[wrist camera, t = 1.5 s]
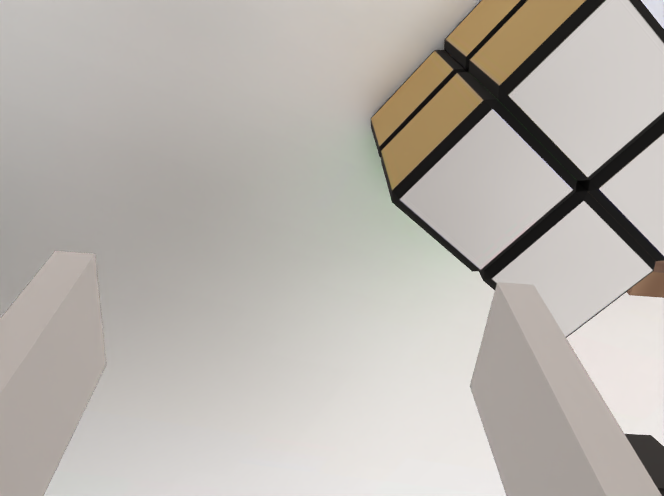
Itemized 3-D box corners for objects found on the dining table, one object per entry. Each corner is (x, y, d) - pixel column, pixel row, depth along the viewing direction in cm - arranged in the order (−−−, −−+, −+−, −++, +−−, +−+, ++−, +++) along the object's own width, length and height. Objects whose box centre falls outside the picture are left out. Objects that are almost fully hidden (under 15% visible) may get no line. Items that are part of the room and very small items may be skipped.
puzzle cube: (648, 104, 30) (786, 178, 21) (496, 238, 33) (560, 349, 25) (520, -45, 27) (620, -31, 18) (365, 121, 30) (386, 201, 21)
